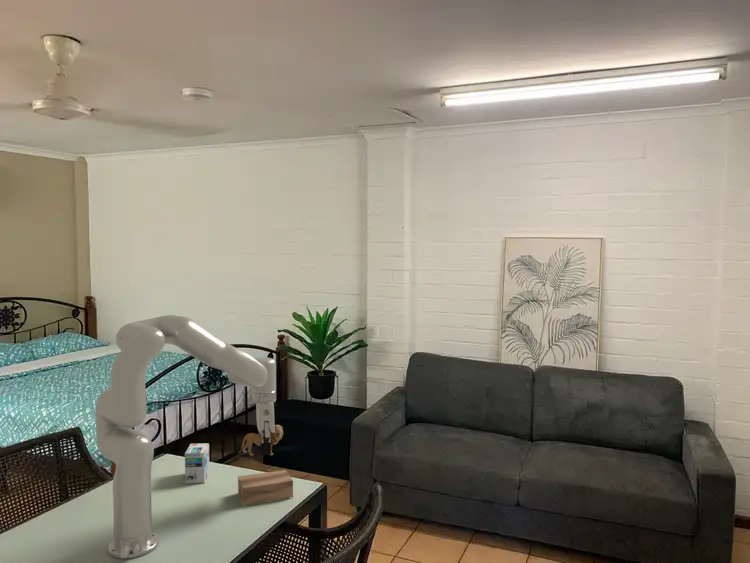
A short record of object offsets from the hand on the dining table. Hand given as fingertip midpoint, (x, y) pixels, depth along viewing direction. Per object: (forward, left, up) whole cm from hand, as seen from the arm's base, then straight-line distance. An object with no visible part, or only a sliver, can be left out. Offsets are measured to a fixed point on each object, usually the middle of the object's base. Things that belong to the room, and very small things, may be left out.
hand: (264, 451), depth 191 cm
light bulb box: (+22, +21, -15) cm, 34 cm away
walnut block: (0, 0, -15) cm, 15 cm away
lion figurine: (+1, +1, -1) cm, 1 cm away
